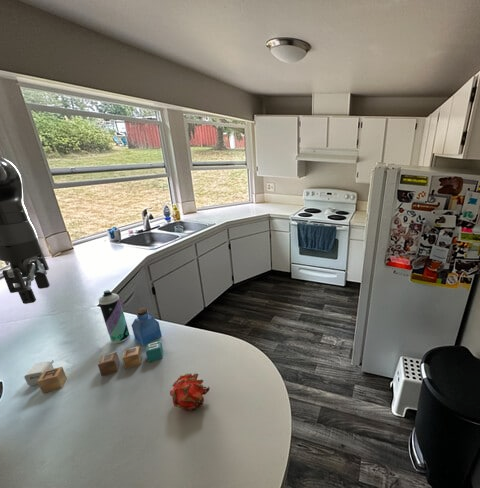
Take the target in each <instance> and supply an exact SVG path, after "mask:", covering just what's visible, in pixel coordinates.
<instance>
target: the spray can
mask: <svg viewBox="0 0 480 488" xmlns="http://www.w3.org/2000/svg"><path fill="white" fill-rule="evenodd" d="M98 305H99V308H100V310H101V311H100V312H101V314H102V317H103V320H104V324H105V326H106V330H107V334H108V336H109V339H110V342H111V343H112V344H120V343H123V342H125V341H127V340H128V339H129V338H130V336H131V335H130V331H129V327H128V324H127V319H126V317H125V313H124V310H123V306H122V303H121V299H120V295H119V294H118V293H113V292H111V290H104V291H103V294H102V296H100V297H99V298H98Z"/></svg>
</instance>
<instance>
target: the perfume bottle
mask: <svg viewBox="0 0 480 488" xmlns="http://www.w3.org/2000/svg"><path fill="white" fill-rule="evenodd" d="M131 328H132V329H131V330H132V333H133V336H134V339H135V340H136V341H137V342H138V343H140V344H141V345H142V346H147V344H149V343H152V342H154V341H156V340H157V339H159V338H160V337H162V331H161V326H160V323H159V321H158V320H157V319H156V318H154V317H153V316H151V315H150V313H149V310H148V308H147V307H142V308H139V309H137V310H136V317H135V319H133V322H132V323H131Z"/></svg>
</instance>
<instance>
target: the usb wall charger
mask: <svg viewBox="0 0 480 488" xmlns="http://www.w3.org/2000/svg"><path fill="white" fill-rule="evenodd" d="M54 362H55V361H54V359H53V360H51V361H43V362H38V363H35V364H34V365H33V366H31V368H30V369H29V370H28V372H26V374H25V375H24V376H23V377H24V380H25V381H26V384H27V385H28V386H35V385H39V384H38V380H39V378H40V377H41V375H42V373H43V372H44V371H47V370H51V369H55V368H54V366H53V364H54Z"/></svg>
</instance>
